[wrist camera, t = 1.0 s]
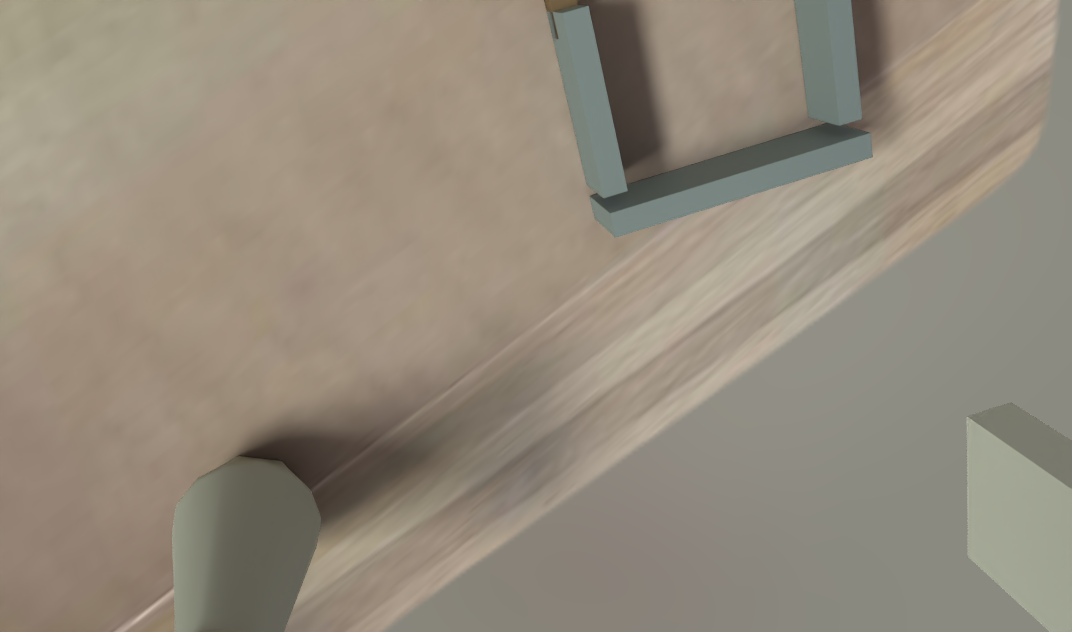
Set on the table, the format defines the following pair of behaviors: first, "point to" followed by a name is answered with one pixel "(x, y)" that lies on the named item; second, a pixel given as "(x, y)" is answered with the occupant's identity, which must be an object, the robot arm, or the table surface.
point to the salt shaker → (242, 547)
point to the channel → (558, 8)
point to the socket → (731, 174)
